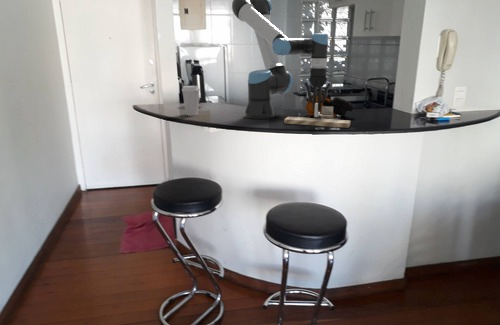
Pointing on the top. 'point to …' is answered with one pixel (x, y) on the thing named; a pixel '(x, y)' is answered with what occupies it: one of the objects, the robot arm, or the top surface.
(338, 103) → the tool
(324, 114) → the architectural model
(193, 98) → the coffee cup
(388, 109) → the top surface
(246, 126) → the top surface
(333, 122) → the board
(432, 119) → the top surface
